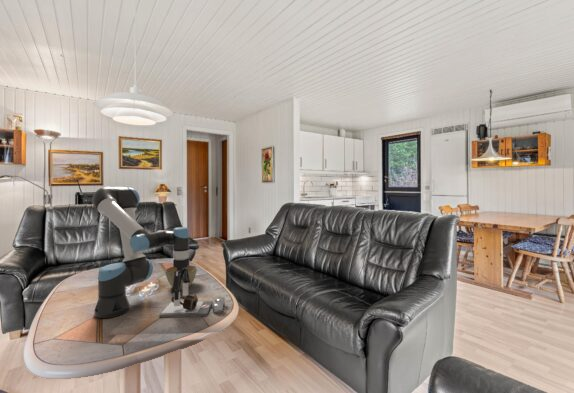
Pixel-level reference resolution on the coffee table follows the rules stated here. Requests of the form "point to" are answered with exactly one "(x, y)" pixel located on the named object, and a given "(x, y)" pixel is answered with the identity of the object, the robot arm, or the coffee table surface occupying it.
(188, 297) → the mechanical counter
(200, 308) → the dial scale
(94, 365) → the coffee table surface
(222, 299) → the cylinder
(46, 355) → the coffee table surface
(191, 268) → the olive beige round bowl
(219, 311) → the cylinder
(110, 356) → the coffee table surface
